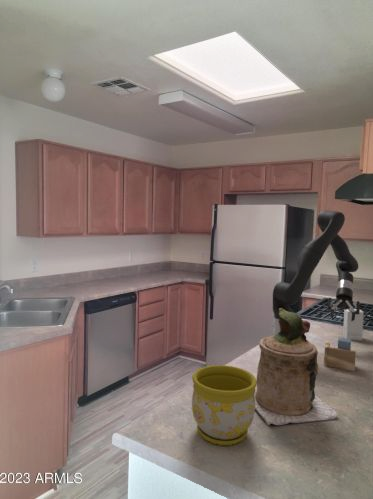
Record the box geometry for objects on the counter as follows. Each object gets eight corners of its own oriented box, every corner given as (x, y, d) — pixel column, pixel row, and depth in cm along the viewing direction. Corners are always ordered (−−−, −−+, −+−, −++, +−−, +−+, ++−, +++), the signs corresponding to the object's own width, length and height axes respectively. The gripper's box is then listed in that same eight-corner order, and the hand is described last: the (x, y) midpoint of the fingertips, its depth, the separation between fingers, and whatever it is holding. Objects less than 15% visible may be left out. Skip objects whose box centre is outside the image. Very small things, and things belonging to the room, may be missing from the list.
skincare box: (358, 337, 198) (360, 308, 197) (362, 341, 192) (364, 311, 191) (342, 336, 199) (343, 308, 198) (346, 340, 193) (348, 311, 191)
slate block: (336, 365, 157) (338, 340, 157) (337, 361, 162) (338, 337, 161) (349, 367, 155) (350, 342, 154) (349, 363, 160) (351, 339, 159)
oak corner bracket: (325, 357, 167) (326, 340, 166) (354, 362, 162) (355, 344, 162) (323, 365, 157) (324, 347, 156) (354, 371, 152) (355, 352, 151)
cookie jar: (268, 429, 108) (274, 322, 105) (235, 390, 131) (239, 302, 129) (340, 419, 114) (347, 318, 112) (296, 384, 138) (301, 300, 135)
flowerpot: (177, 431, 105) (179, 375, 104) (218, 409, 118) (220, 360, 116) (226, 462, 92) (229, 399, 91) (266, 434, 105) (269, 378, 103)
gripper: (329, 285, 182) (326, 312, 172) (361, 288, 176) (359, 317, 166) (329, 293, 187) (326, 321, 178) (360, 297, 181) (358, 325, 172)
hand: (342, 319), depth 172 cm, fingers open, 8 cm apart
